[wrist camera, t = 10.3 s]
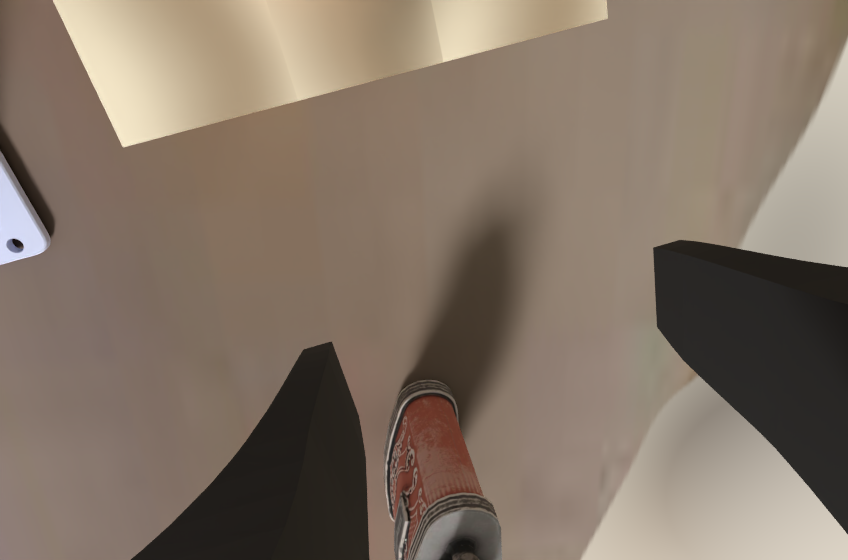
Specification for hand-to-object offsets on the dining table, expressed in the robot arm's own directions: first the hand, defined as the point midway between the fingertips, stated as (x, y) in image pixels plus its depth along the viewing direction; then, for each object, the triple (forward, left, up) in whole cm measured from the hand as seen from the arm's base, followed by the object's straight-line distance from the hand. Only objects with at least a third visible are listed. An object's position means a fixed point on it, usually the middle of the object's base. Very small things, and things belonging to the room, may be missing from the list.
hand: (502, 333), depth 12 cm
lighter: (-3, -12, -11) cm, 16 cm away
